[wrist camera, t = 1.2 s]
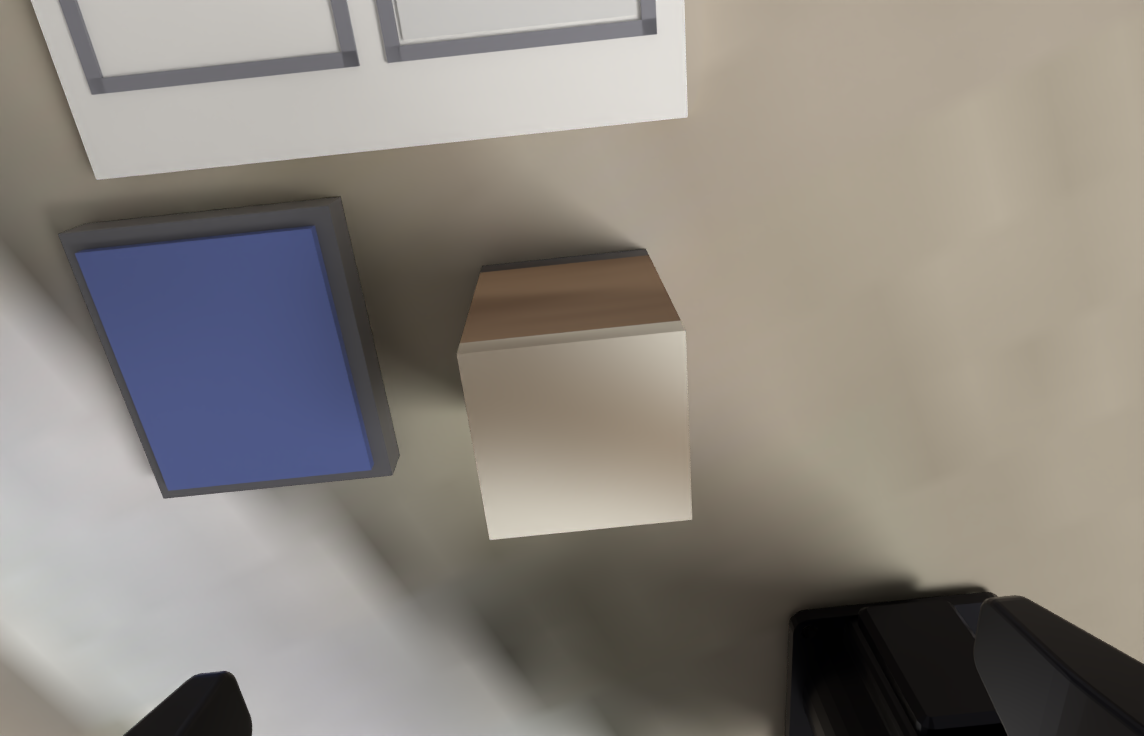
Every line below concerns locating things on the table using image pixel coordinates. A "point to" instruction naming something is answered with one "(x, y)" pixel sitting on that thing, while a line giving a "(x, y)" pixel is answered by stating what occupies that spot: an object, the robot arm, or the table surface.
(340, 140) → the sheet
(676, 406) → the beige block
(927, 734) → the robot arm
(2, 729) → the table surface
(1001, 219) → the table surface
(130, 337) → the ink pad
